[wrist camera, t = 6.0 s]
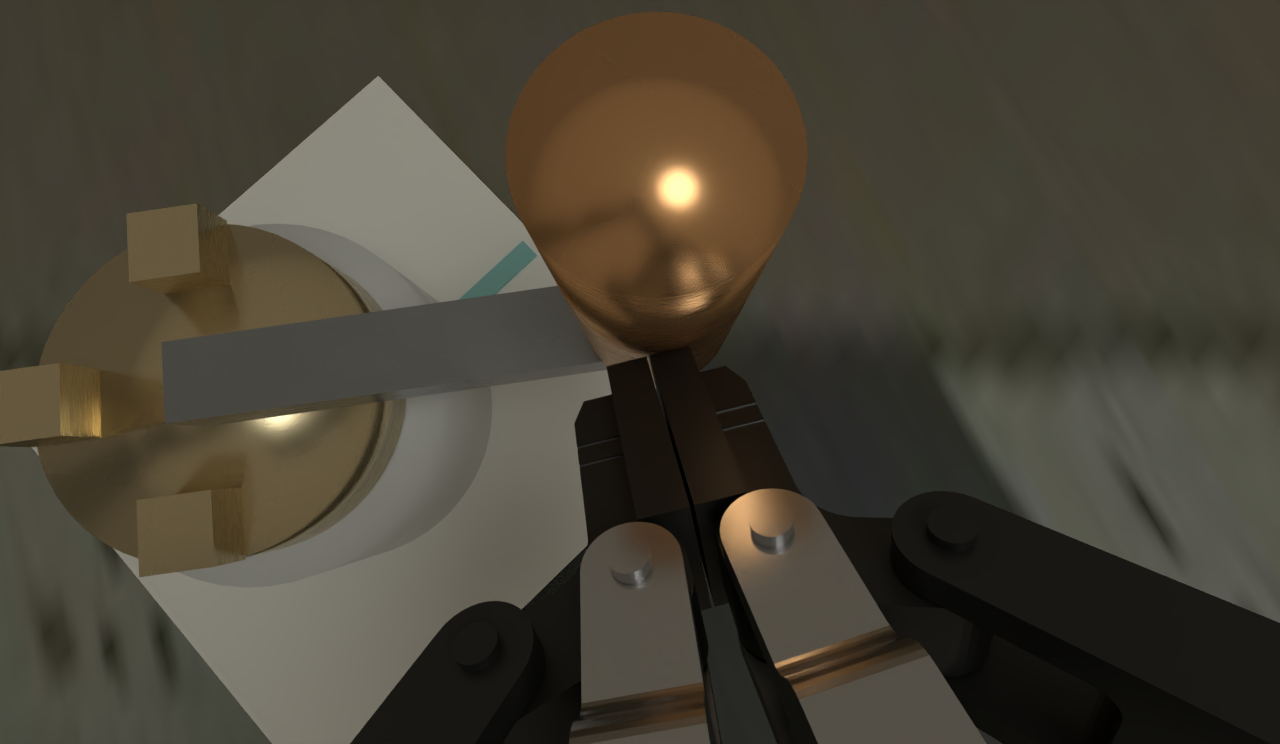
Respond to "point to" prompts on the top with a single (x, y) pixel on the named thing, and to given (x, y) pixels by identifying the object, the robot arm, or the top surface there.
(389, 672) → the cylinder on square plate
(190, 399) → the lever-handled chuck
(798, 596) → the robot arm
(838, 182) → the top surface
